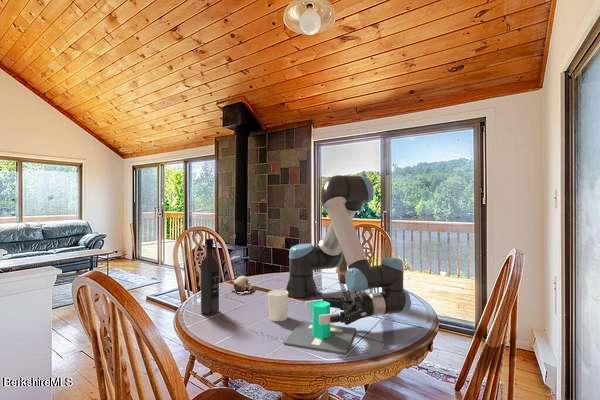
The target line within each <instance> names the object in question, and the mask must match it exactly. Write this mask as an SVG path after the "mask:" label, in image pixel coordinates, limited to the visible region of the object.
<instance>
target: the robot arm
mask: <svg viewBox="0 0 600 400" xmlns="http://www.w3.org/2000/svg"><path fill="white" fill-rule="evenodd" d="M374 190H375V189H374V185H373V182H372V180H371V179H370V178H369V177H367V176H364V175H341V174H337V175H333V176H331V177H329V178H327V179H326V181H325V182H324V183H323V185H322V188H321V190H320V202H321V206H322V208H323V210H324V211H325V212H327V214H328V217H329V220H330V223H329V226H328V229H327V230H326V233H325V235H324V237H323V238H322V239H321V240H319V243H318V245H314V244H312V243H299V244H296V245H292V246H291V247H290V248H289V252H288V253H289V255H288V258H289V260H288V261H289V266H288V267H289V270H288V271H289V278H288V281H287V284H286V287H285V290H286V291H288V296H289V295H290V297H293V298H310V297H314V296H316V295H317V293H318V288H317V285H316V281H315V278H314V271H318V270H328V269H335V268H337V267H338V266H339V265H340V264H341V262H342V260H343V257H342V256H343V255H344V258H345V261H346V263H347V271H346V273H345V278H346V280H345V282H346V283H345V285H346V286H347V287H348V289H349V290H350V291H352V292H359V291H367V290H372V289H378V288H381V292H370V293H364V294H362V293H361V294H357V295H356V297H355V298H354V300H353V299H350V298H349V296H345V297H339V296H337V297H334V296H321V298H320V300H322V301H326V302H328V303H330V308H334V309H339V310H340V311H339V312H333V313H330V314H324V315H319V324H320V325H322V324H329V323H330V324H334V323H336V324H337V323H341V324H342V323H344V325H346V326H349V325H350V324H352V323H354V322H357V321H358V320H361V319H365V318H369V317H374V316H375V317H378V316H381V315H382V316H383V315H390V314H391V315H392V314H400V313H403V312H404V313H405V312H407V311H409V310H410V309H411V306H412V300H411V296H410V294H409V292H408V291H407V290H404V272H405V271H404V262H403V260H402V259H401V258H398V257H384V258H382V259H381V264H380V265H370V262H369V259H368V257H367V255H366V253H365V249H364V247H363V245H362V241H361V240H360V238H359V235H358V232H357V230H356V227H355V225H354V223H353V219H354V217H355V215H356V213H357V212H360V211H361V210H362V208H363V206H364V204H369V203H370V202H371V201H372V200H373V199H374V196H375V195H374V194H375V193H374V192H375V191H374ZM318 300H319V299H314V300H313V299H312V300H305V302H304V306H305V307H304V309H305V310H312V303H313V302H314V301H318Z"/></svg>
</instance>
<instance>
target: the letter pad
mask: <svg viewBox="0 0 600 400" xmlns="http://www.w3.org/2000/svg"><path fill="white" fill-rule="evenodd" d="M356 331H357V328H356V327H349V326H343V325H334V324H330V337H328V338H324V339H319V338H315V337H314V336H313V328H312V321H305V320H301V322H300V323H299V324H298V325H297V326H296V327H295V328H294V329H293V331H292V332H291V333H290V334H289V335H288V337H287V338H286V339H285V340H284V341H283V345H284V344H285V345H286V346H290V345H291V347H298V348H304V349H309V350H310V349H311V350H317V351H321V352H329V353H334V354H341V355H347V353H348V350H349V349H350V346H351V343H352V341H353V339H354V335H355V333H356Z"/></svg>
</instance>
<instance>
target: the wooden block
mask: <svg viewBox="0 0 600 400" xmlns="http://www.w3.org/2000/svg"><path fill="white" fill-rule="evenodd" d="M342 257H343V260H342V262H341V264H340V265H339V266H338V268H337V269H338V274H337V275H338V280H339V283H341V284H346V282H345V280H346V278H345V273H346V271H347V270H348V266H347V263H346V261H345V258H344V255H343V256H342Z"/></svg>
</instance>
